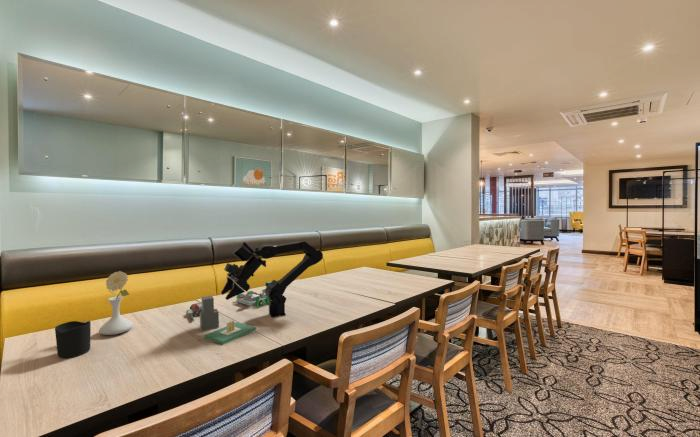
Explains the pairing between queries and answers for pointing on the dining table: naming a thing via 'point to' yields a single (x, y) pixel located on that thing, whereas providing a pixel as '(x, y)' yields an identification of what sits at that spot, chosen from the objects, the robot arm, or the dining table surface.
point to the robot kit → (254, 298)
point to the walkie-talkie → (195, 310)
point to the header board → (229, 332)
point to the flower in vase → (116, 306)
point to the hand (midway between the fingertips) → (223, 296)
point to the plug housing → (208, 314)
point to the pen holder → (73, 338)
